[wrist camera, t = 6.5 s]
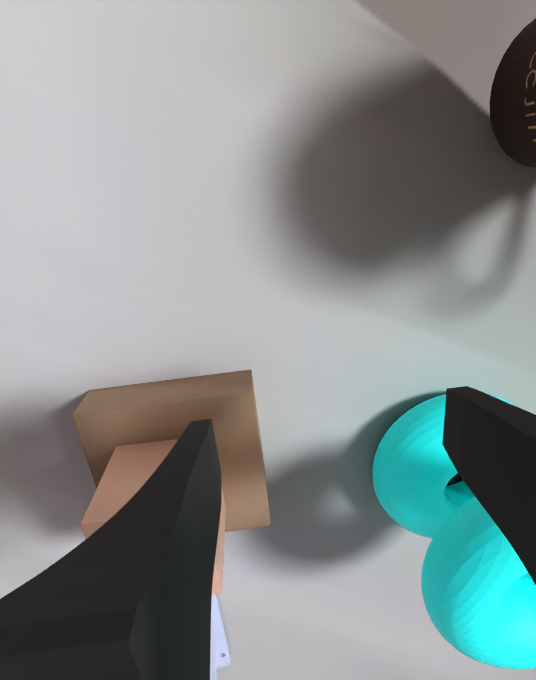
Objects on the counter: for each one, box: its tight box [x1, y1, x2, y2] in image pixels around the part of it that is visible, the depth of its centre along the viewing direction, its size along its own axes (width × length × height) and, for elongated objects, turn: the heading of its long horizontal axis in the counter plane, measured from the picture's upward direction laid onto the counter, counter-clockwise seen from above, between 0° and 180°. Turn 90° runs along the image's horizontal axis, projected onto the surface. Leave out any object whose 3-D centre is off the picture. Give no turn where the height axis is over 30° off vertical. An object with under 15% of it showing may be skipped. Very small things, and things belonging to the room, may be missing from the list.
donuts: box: [372, 394, 536, 669], centre depth 21 cm, size 10×10×10 cm
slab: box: [72, 370, 271, 532], centre depth 23 cm, size 9×9×3 cm
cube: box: [80, 439, 226, 594], centre depth 19 cm, size 5×5×5 cm
